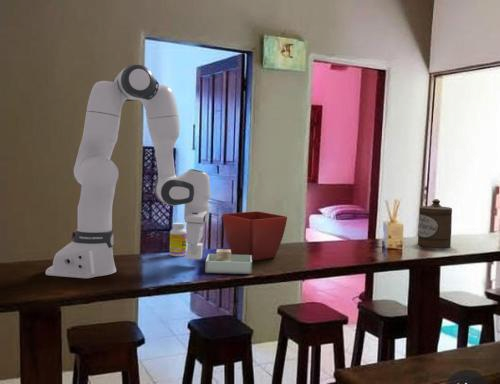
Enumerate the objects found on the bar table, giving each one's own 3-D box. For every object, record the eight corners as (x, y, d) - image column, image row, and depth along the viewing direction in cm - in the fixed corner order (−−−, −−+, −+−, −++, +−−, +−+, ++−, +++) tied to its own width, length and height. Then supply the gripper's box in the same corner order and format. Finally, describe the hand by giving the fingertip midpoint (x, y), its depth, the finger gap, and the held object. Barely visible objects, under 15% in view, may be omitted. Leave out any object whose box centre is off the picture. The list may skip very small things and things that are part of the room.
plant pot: (250, 264, 198) (251, 219, 196) (219, 255, 212) (221, 213, 211) (287, 258, 210) (288, 216, 209) (256, 250, 225) (257, 211, 223)
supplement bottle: (183, 257, 206) (183, 224, 205) (167, 256, 207) (167, 223, 206) (188, 254, 212) (189, 222, 211) (172, 253, 214) (173, 221, 213)
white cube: (186, 258, 188) (187, 244, 187) (188, 256, 193) (189, 242, 192) (200, 259, 188) (201, 245, 187) (202, 256, 193) (202, 243, 192)
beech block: (215, 268, 185) (216, 251, 185) (216, 265, 190) (217, 249, 190) (230, 269, 186) (230, 252, 185) (230, 265, 190) (230, 249, 190)
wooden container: (411, 242, 257) (413, 197, 255) (437, 242, 261) (439, 197, 260) (430, 248, 243) (433, 200, 241) (457, 247, 247) (460, 200, 245)
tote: (205, 272, 181) (205, 261, 181) (207, 264, 194) (208, 253, 194) (251, 274, 182) (252, 262, 181) (251, 265, 195) (251, 255, 194)
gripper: (191, 211, 199) (189, 247, 200) (184, 217, 179) (182, 258, 180) (207, 212, 199) (205, 248, 200) (202, 218, 179) (200, 259, 180)
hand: (194, 253), depth 190 cm, fingers closed on white cube, 5 cm apart
